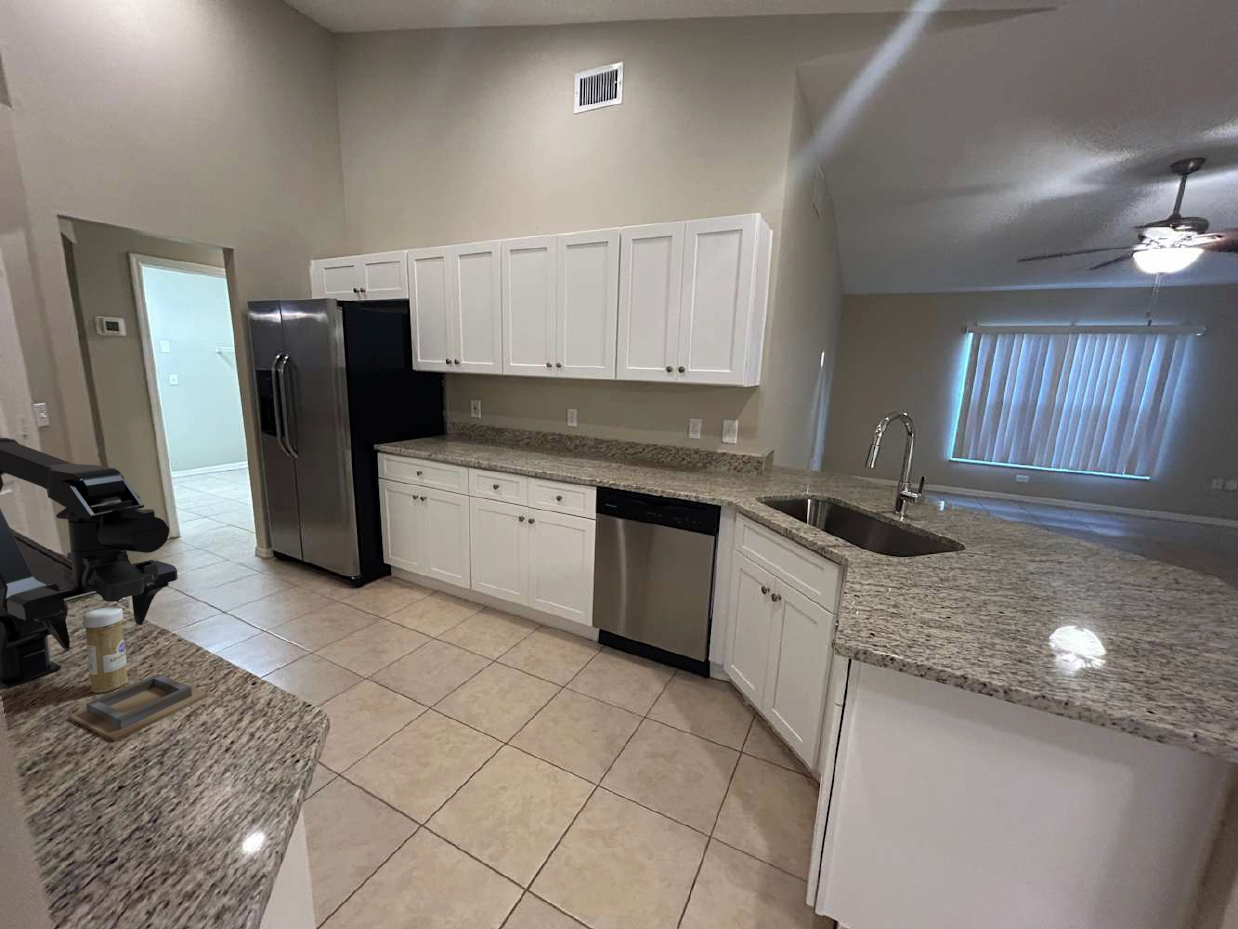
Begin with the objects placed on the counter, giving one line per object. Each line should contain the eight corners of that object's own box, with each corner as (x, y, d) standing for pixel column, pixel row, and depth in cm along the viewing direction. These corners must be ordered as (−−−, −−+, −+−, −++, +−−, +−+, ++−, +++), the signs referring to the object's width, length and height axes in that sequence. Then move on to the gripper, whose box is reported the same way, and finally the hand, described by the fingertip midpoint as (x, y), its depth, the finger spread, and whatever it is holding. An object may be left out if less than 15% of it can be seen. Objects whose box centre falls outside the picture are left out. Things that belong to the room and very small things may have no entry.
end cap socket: (68, 718, 75) (67, 706, 75) (163, 678, 86) (163, 667, 86) (114, 741, 71) (113, 729, 71) (208, 696, 82) (207, 685, 82)
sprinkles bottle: (124, 689, 83) (118, 613, 81) (86, 697, 80) (78, 619, 78) (131, 675, 87) (125, 603, 85) (95, 682, 84) (88, 608, 82)
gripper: (40, 573, 69) (51, 677, 71) (194, 539, 86) (199, 623, 88) (-1, 559, 72) (11, 658, 74) (155, 529, 90) (161, 610, 92)
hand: (104, 635), depth 82 cm, fingers open, 9 cm apart
